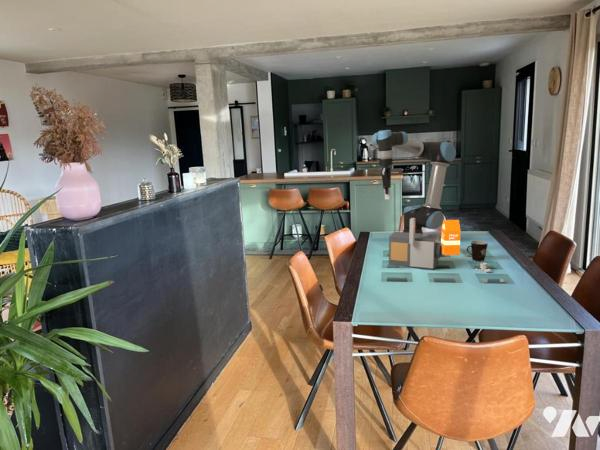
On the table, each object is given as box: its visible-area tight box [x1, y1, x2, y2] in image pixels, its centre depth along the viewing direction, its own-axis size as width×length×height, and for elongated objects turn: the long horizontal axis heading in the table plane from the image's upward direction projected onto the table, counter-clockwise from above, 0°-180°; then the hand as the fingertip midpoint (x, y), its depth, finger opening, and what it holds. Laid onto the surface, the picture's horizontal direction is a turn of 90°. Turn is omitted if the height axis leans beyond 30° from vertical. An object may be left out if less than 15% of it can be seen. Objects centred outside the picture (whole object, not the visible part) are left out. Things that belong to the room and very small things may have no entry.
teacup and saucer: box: [475, 262, 493, 273], centre depth 233 cm, size 9×8×4 cm
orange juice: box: [440, 219, 462, 256], centre depth 265 cm, size 8×9×20 cm
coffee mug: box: [466, 240, 489, 262], centre depth 251 cm, size 12×9×10 cm
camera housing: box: [388, 231, 443, 271], centre depth 246 cm, size 12×26×17 cm, turn 64°
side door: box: [409, 218, 434, 270], centre depth 235 cm, size 4×12×26 cm, turn 64°
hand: (387, 199), depth 261 cm, fingers closed
